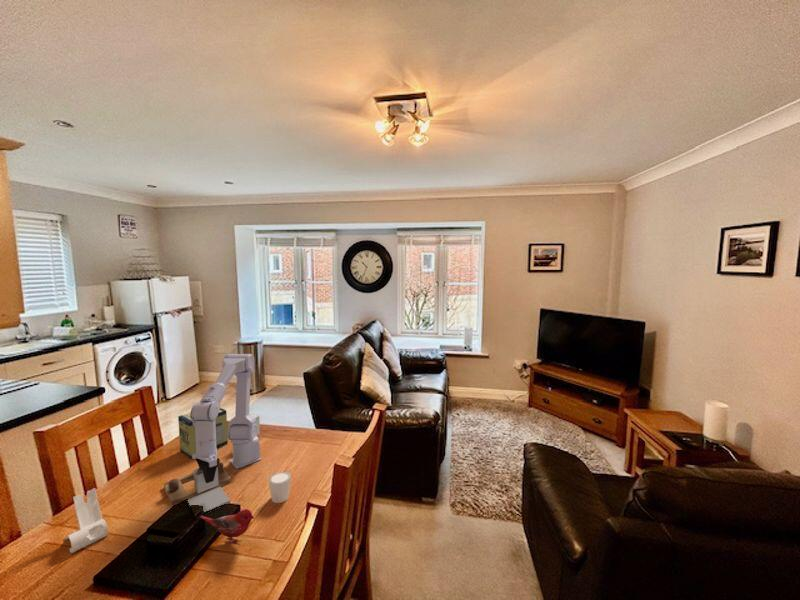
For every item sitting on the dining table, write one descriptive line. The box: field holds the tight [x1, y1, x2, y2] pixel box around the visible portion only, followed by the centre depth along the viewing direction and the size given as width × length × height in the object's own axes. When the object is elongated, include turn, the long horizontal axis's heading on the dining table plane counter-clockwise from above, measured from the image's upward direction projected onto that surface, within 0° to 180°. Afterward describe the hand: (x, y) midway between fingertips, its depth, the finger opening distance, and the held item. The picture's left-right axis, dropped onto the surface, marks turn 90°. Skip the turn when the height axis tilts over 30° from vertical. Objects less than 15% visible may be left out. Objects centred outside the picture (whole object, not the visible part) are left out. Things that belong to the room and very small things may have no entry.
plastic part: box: [63, 487, 109, 554], centre depth 95 cm, size 8×10×12 cm
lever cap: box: [193, 467, 219, 493], centre depth 109 cm, size 6×4×6 cm, turn 135°
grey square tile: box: [186, 486, 231, 512], centre depth 110 cm, size 10×10×1 cm
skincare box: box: [250, 414, 261, 442], centre depth 148 cm, size 6×4×12 cm
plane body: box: [163, 461, 232, 507], centre depth 119 cm, size 18×13×4 cm
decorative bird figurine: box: [198, 508, 255, 543], centre depth 94 cm, size 3×18×10 cm, turn 80°
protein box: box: [177, 407, 229, 460], centre depth 144 cm, size 10×16×16 cm
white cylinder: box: [268, 471, 291, 504], centre depth 112 cm, size 7×7×7 cm
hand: (207, 478), depth 109 cm, fingers closed on lever cap, 4 cm apart
